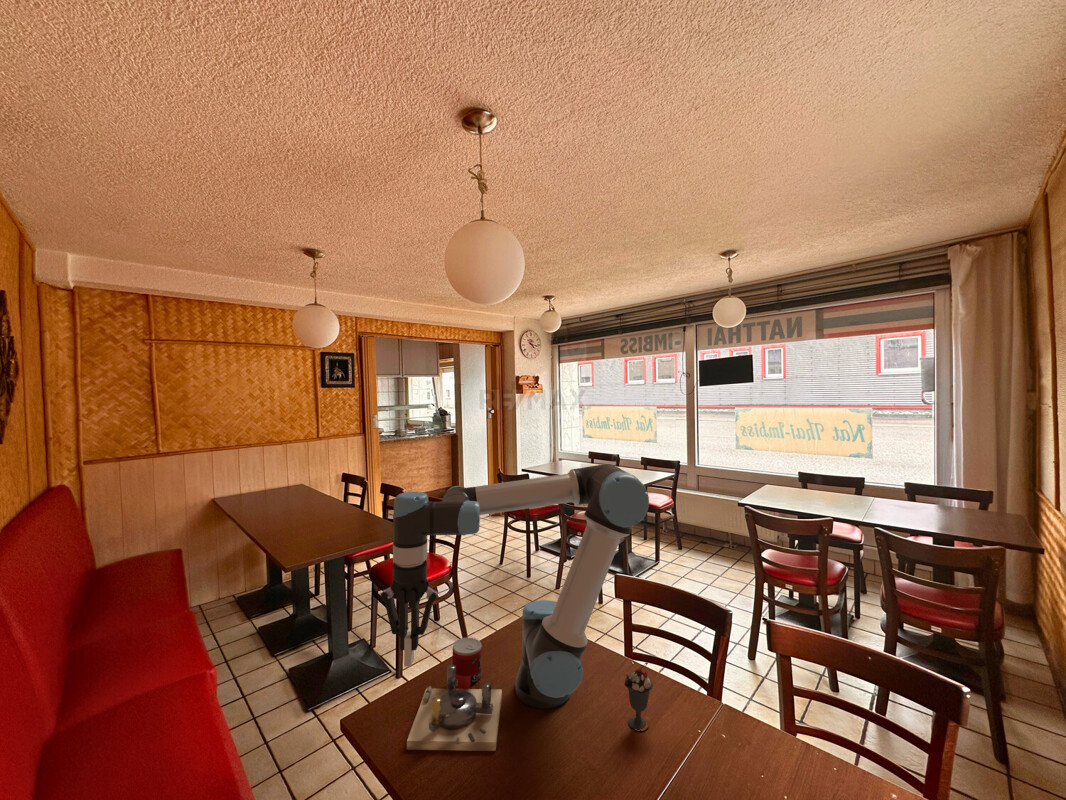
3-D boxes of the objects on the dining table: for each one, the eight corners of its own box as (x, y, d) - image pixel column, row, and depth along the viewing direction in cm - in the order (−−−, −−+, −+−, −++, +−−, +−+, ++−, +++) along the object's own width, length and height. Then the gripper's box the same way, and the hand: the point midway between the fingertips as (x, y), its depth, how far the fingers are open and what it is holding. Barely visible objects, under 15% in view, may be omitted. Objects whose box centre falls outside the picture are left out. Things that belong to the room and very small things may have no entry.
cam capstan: (450, 688, 117) (450, 661, 116) (495, 713, 108) (495, 685, 107) (409, 718, 106) (409, 689, 105) (455, 750, 97) (455, 718, 96)
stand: (501, 697, 117) (501, 683, 117) (495, 753, 98) (495, 738, 98) (426, 695, 117) (426, 682, 117) (405, 752, 99) (405, 736, 99)
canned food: (476, 696, 117) (476, 655, 117) (447, 691, 119) (448, 651, 118) (485, 677, 125) (485, 639, 124) (458, 673, 126) (458, 635, 126)
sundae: (657, 723, 108) (658, 663, 107) (643, 739, 103) (644, 676, 103) (633, 710, 112) (634, 652, 112) (619, 724, 107) (620, 663, 107)
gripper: (442, 555, 105) (441, 653, 105) (387, 554, 105) (386, 652, 105) (434, 568, 97) (433, 674, 98) (375, 567, 97) (374, 672, 98)
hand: (409, 662), depth 101 cm, fingers closed
